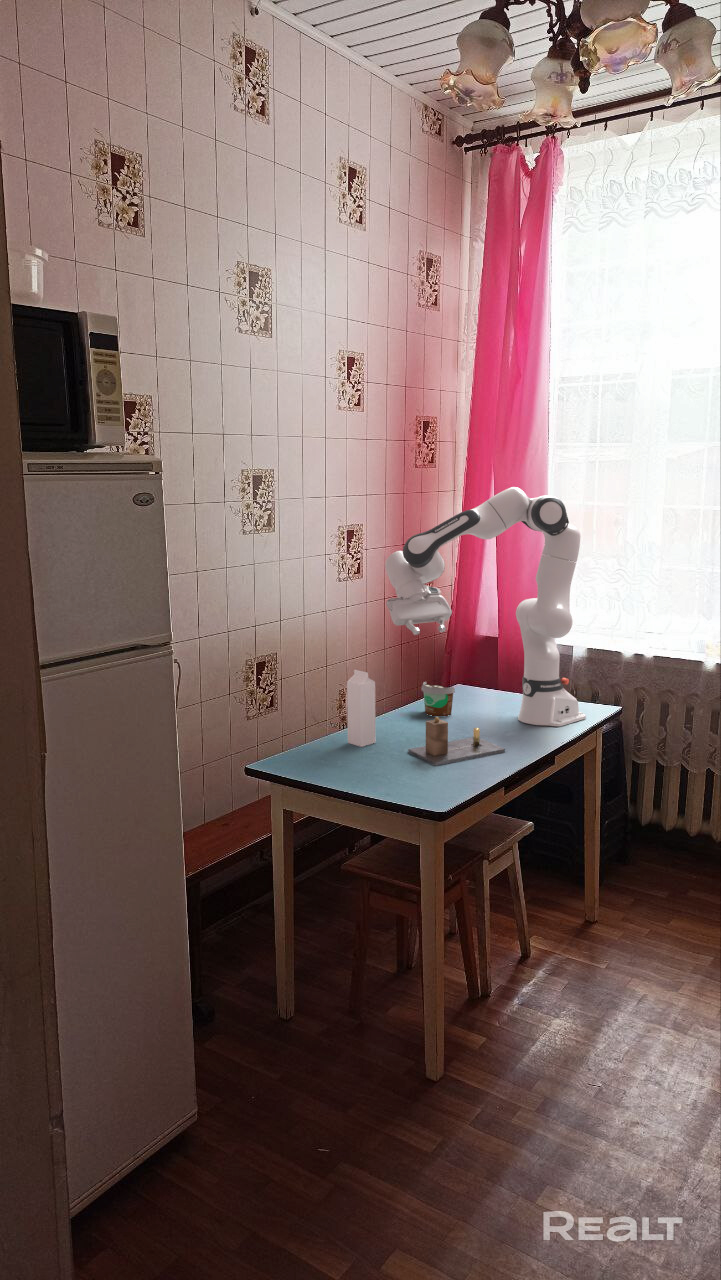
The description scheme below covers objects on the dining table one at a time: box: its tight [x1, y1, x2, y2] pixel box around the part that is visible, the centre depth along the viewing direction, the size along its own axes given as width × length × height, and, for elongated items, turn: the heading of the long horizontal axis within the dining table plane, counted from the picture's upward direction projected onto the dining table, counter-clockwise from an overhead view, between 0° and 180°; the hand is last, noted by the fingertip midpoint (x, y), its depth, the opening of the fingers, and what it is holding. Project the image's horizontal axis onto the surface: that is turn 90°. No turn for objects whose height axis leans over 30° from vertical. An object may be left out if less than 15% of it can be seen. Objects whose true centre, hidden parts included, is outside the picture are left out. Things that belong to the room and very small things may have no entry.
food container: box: [421, 681, 456, 717], centre depth 297 cm, size 12×6×10 cm, turn 49°
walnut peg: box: [425, 717, 449, 756], centre depth 253 cm, size 4×4×10 cm
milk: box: [346, 669, 377, 748], centre depth 265 cm, size 6×6×22 cm
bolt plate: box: [407, 727, 506, 767], centre depth 257 cm, size 24×14×6 cm, turn 119°
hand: (430, 632), depth 273 cm, fingers open, 8 cm apart
